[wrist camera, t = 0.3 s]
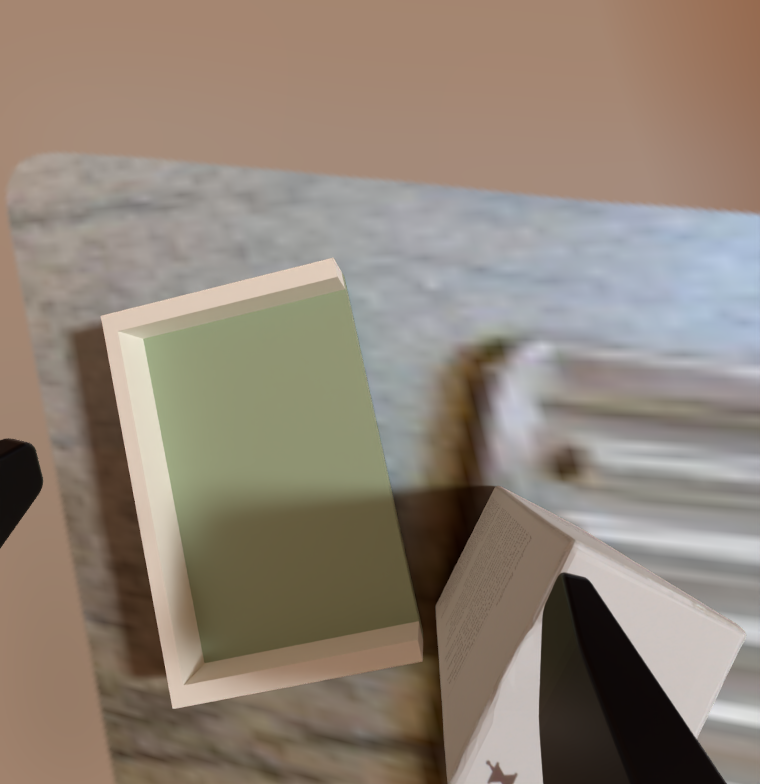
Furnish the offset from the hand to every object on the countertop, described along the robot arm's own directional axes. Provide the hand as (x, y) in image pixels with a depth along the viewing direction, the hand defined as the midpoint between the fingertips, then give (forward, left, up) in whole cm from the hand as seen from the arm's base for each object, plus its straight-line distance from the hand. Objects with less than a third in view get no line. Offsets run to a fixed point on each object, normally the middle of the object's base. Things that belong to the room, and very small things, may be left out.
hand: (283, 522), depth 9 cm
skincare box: (-6, -4, -15) cm, 17 cm away
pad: (+1, +4, -15) cm, 16 cm away
